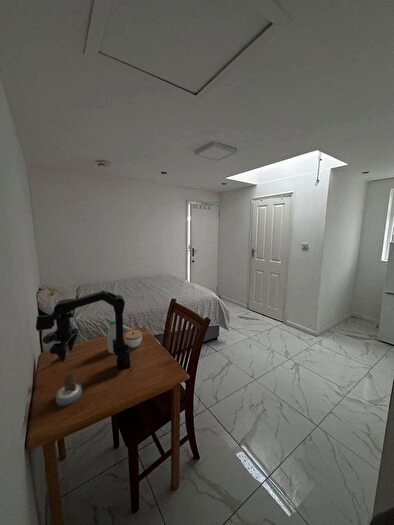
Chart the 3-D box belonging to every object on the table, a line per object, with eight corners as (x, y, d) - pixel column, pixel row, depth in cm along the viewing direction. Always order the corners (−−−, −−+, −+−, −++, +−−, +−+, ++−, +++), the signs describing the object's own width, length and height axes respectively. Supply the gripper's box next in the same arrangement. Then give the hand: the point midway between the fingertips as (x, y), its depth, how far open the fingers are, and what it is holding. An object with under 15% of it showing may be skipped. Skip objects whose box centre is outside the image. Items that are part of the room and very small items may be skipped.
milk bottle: (113, 355, 125) (111, 323, 122) (105, 351, 129) (103, 320, 126) (124, 349, 132) (122, 319, 128) (116, 345, 136) (114, 316, 132)
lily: (77, 352, 129) (69, 339, 128) (81, 353, 121) (72, 339, 120) (56, 366, 121) (47, 353, 120) (59, 369, 113) (49, 354, 112)
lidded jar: (122, 344, 137) (121, 331, 135) (137, 339, 144) (137, 326, 142) (129, 351, 129) (129, 337, 127) (145, 345, 136) (144, 332, 135)
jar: (85, 387, 100) (84, 379, 99) (77, 404, 90) (76, 395, 89) (62, 390, 98) (61, 381, 97) (51, 407, 88) (50, 398, 88)
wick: (75, 388, 95) (74, 374, 94) (74, 390, 93) (73, 376, 92) (66, 389, 94) (64, 375, 93) (64, 392, 93) (63, 377, 92)
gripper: (54, 319, 108) (57, 347, 111) (34, 337, 90) (38, 370, 93) (77, 317, 111) (80, 345, 113) (62, 335, 93) (65, 367, 95)
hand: (66, 355), depth 103 cm, fingers open, 9 cm apart
